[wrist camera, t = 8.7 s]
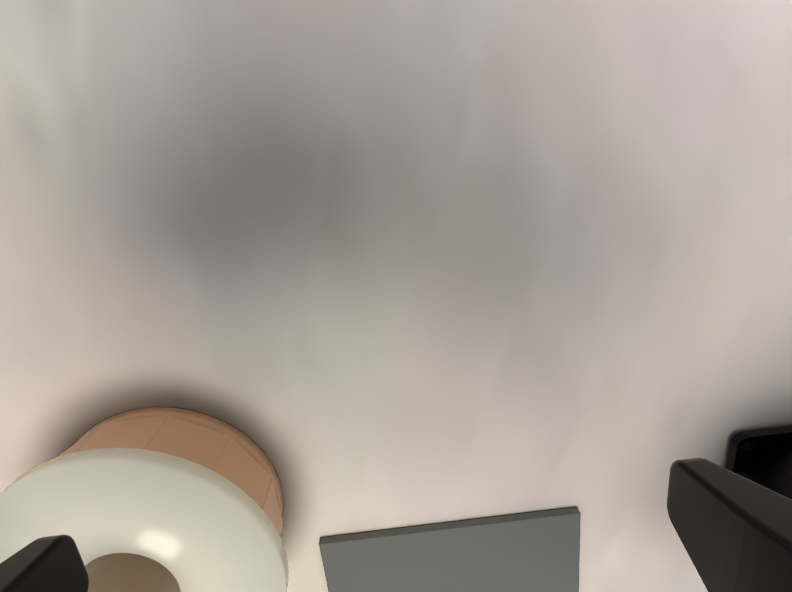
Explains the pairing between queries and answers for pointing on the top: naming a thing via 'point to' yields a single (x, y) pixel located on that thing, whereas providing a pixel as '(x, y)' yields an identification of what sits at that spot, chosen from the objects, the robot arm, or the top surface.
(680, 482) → the robot arm
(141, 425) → the bowl
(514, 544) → the mat
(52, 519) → the lid
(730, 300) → the top surface
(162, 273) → the top surface
